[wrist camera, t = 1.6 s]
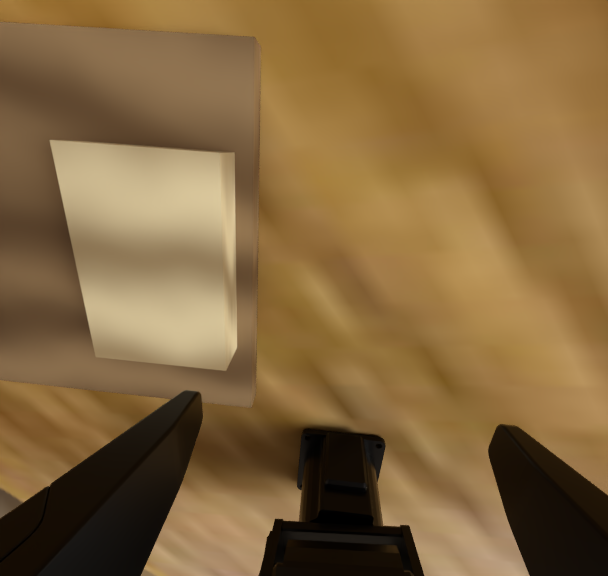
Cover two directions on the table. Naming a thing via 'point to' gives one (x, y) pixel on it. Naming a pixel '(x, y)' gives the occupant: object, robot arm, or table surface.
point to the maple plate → (153, 249)
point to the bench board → (122, 130)
